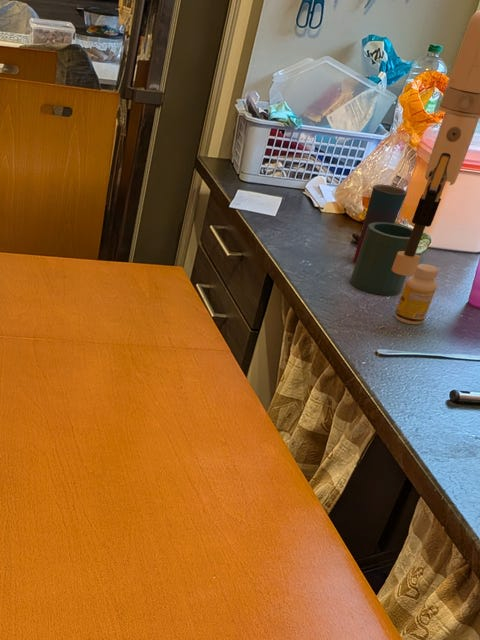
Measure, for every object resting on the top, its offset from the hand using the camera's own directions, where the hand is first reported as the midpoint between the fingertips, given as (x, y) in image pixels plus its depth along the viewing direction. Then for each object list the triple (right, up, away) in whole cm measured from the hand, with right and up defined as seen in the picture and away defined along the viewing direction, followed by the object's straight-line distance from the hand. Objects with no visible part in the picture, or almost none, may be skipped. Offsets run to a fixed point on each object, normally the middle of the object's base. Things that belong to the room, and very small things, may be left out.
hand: (421, 222), depth 160 cm
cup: (+6, +10, +41) cm, 43 cm away
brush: (-1, -6, +6) cm, 9 cm away
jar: (+4, 0, +30) cm, 30 cm away
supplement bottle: (+5, -11, +17) cm, 21 cm away
